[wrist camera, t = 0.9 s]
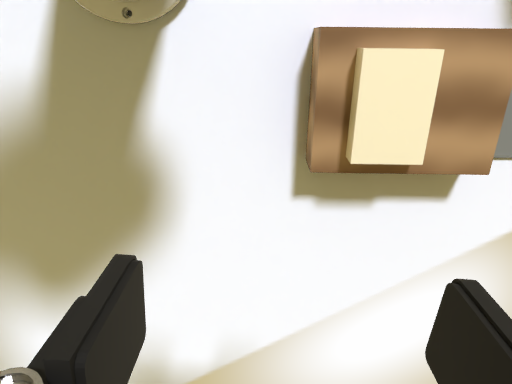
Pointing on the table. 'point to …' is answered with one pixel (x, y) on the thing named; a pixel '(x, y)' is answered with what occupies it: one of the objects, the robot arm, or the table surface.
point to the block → (392, 105)
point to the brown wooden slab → (446, 102)
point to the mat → (505, 134)
